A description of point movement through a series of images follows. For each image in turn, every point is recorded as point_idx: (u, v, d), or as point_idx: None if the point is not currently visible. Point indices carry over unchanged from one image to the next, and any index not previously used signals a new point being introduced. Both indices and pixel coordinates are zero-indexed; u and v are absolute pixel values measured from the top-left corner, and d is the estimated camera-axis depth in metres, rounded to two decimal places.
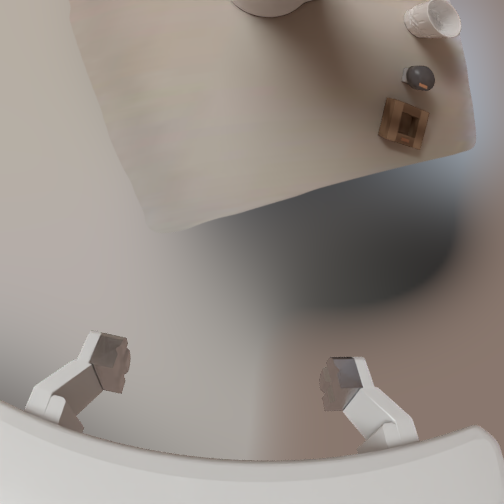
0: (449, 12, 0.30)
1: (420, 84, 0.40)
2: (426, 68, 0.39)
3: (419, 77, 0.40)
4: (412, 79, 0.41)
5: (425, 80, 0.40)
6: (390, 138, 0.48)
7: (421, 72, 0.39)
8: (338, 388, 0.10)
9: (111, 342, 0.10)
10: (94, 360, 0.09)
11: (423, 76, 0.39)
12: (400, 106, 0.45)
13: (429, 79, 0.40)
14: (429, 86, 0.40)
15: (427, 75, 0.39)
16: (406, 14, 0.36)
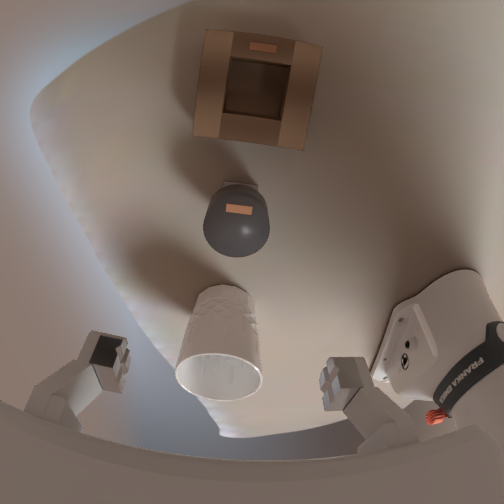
0: (196, 378, 0.28)
1: (246, 209, 0.21)
2: (232, 253, 0.23)
3: (252, 227, 0.22)
4: (267, 214, 0.22)
5: (232, 224, 0.21)
6: (310, 48, 0.17)
7: (247, 240, 0.22)
8: (338, 388, 0.10)
9: (111, 342, 0.10)
10: (94, 360, 0.09)
11: (240, 232, 0.22)
12: (288, 134, 0.20)
13: (220, 229, 0.22)
14: (219, 213, 0.21)
15: (227, 237, 0.22)
16: None
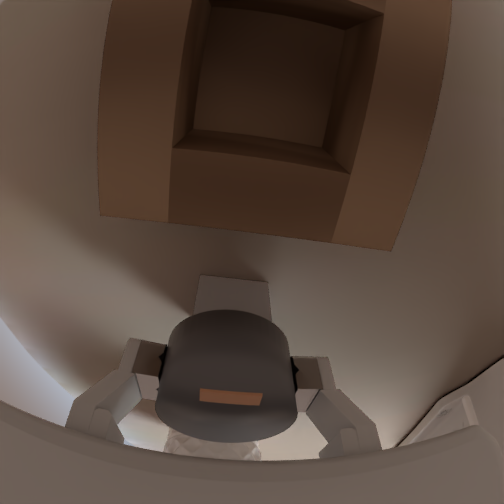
0: None
1: (247, 397, 0.08)
2: (221, 439, 0.10)
3: (260, 416, 0.09)
4: (293, 386, 0.09)
5: (217, 413, 0.09)
6: None
7: (249, 429, 0.09)
8: (296, 388, 0.10)
9: (153, 350, 0.10)
10: (137, 369, 0.09)
11: (234, 422, 0.09)
12: (363, 211, 0.07)
13: (192, 417, 0.09)
14: (184, 399, 0.08)
15: (209, 426, 0.09)
16: None
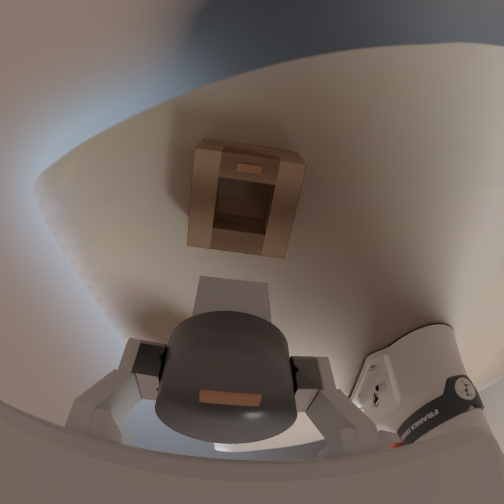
0: None
1: (247, 398, 0.08)
2: (221, 440, 0.10)
3: (260, 417, 0.09)
4: (293, 387, 0.09)
5: (217, 414, 0.09)
6: (294, 167, 0.21)
7: (248, 430, 0.09)
8: (296, 388, 0.10)
9: (153, 350, 0.10)
10: (137, 369, 0.09)
11: (234, 423, 0.09)
12: (271, 245, 0.24)
13: (192, 418, 0.09)
14: (185, 400, 0.08)
15: (209, 427, 0.09)
16: None
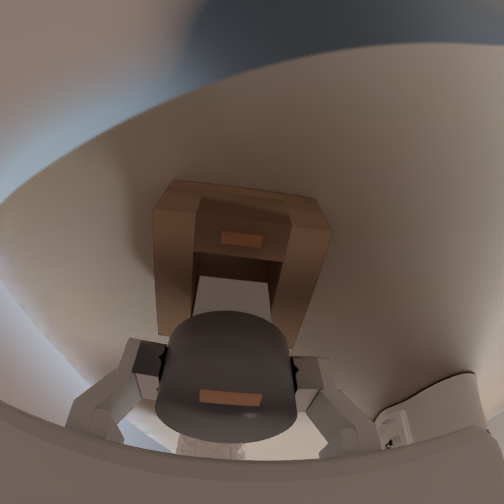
0: None
1: (247, 398, 0.08)
2: (221, 440, 0.10)
3: (260, 417, 0.09)
4: (293, 387, 0.09)
5: (217, 414, 0.09)
6: (314, 236, 0.13)
7: (248, 430, 0.09)
8: (296, 388, 0.10)
9: (153, 350, 0.10)
10: (137, 369, 0.09)
11: (234, 422, 0.09)
12: None
13: (192, 418, 0.09)
14: (185, 400, 0.08)
15: (209, 427, 0.09)
16: None
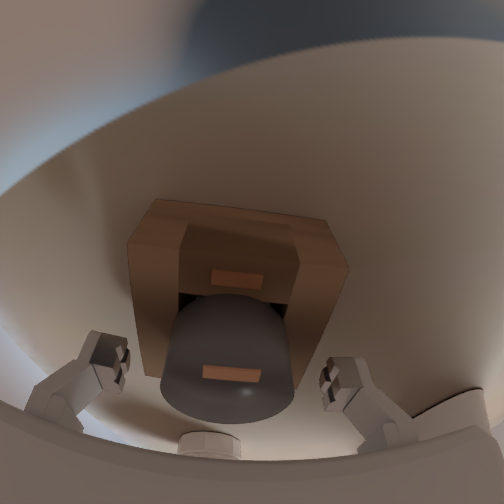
0: None
1: (247, 374, 0.09)
2: (222, 420, 0.11)
3: (259, 395, 0.10)
4: (290, 366, 0.10)
5: (218, 391, 0.10)
6: (327, 274, 0.11)
7: (248, 409, 0.10)
8: (338, 388, 0.10)
9: (111, 342, 0.10)
10: (94, 360, 0.09)
11: (234, 400, 0.10)
12: None
13: (195, 396, 0.10)
14: (188, 376, 0.09)
15: (211, 405, 0.10)
16: None
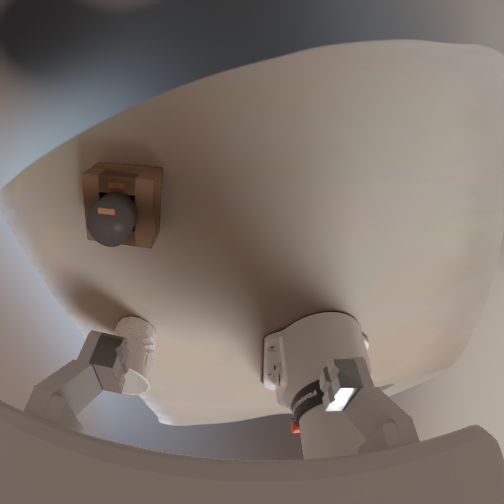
0: None
1: (111, 211, 0.26)
2: (108, 243, 0.28)
3: (117, 224, 0.27)
4: (129, 214, 0.27)
5: (104, 222, 0.27)
6: (145, 182, 0.28)
7: (115, 234, 0.27)
8: (338, 388, 0.10)
9: (111, 342, 0.10)
10: (94, 360, 0.09)
11: (110, 228, 0.27)
12: (140, 239, 0.31)
13: (97, 226, 0.27)
14: (94, 214, 0.26)
15: (103, 232, 0.27)
16: (155, 340, 0.44)
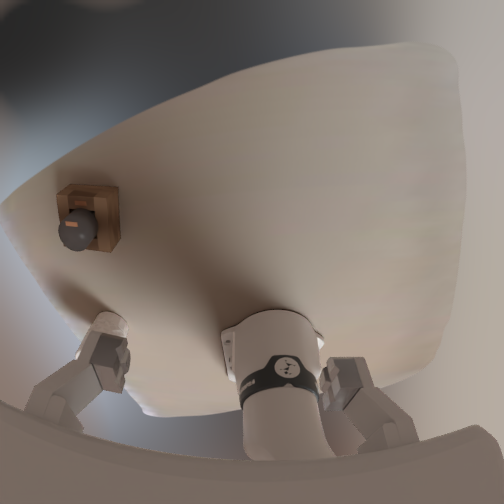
0: None
1: (75, 224, 0.32)
2: (75, 249, 0.34)
3: (80, 233, 0.33)
4: (88, 225, 0.33)
5: (71, 232, 0.33)
6: (101, 200, 0.34)
7: (79, 241, 0.33)
8: (338, 388, 0.10)
9: (111, 342, 0.10)
10: (94, 360, 0.09)
11: (75, 237, 0.33)
12: (102, 245, 0.37)
13: (66, 235, 0.33)
14: (63, 226, 0.32)
15: (70, 240, 0.33)
16: (127, 332, 0.50)
